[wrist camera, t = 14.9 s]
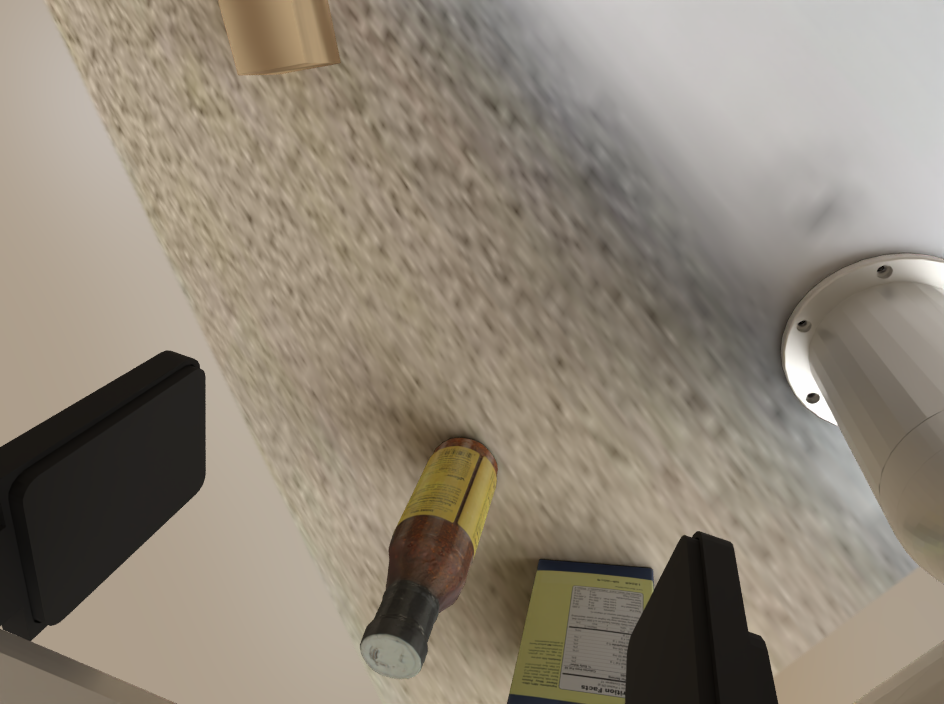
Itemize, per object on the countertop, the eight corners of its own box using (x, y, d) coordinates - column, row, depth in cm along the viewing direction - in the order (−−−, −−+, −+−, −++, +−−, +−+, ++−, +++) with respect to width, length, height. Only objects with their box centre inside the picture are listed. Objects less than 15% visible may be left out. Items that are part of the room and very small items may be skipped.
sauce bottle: (420, 461, 55) (315, 643, 38) (460, 420, 52) (365, 598, 35) (476, 505, 56) (397, 705, 38) (518, 467, 53) (453, 666, 35)
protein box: (552, 674, 62) (525, 843, 49) (537, 556, 56) (501, 712, 43) (658, 687, 59) (660, 872, 46) (654, 565, 53) (655, 736, 40)
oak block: (324, -20, 40) (284, -30, 36) (341, 63, 42) (305, 62, 38) (260, -5, 42) (214, -13, 37) (279, 74, 44) (238, 75, 39)
